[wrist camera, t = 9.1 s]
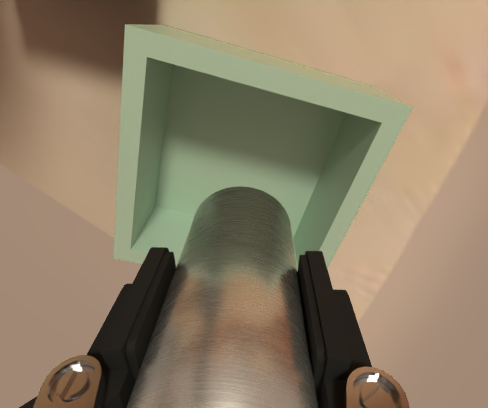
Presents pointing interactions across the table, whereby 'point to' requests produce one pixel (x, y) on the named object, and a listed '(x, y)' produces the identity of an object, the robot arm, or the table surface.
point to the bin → (241, 139)
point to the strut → (231, 314)
